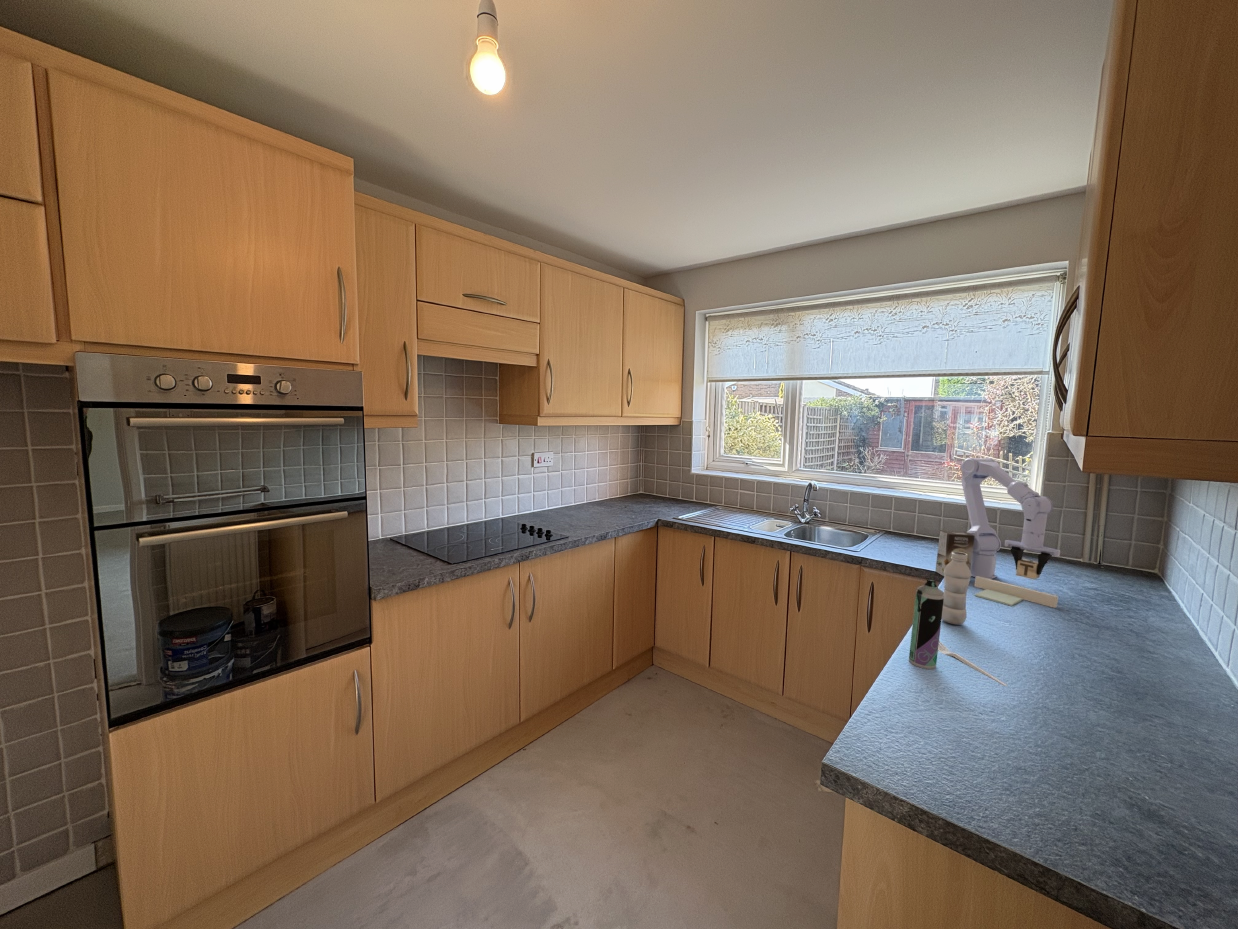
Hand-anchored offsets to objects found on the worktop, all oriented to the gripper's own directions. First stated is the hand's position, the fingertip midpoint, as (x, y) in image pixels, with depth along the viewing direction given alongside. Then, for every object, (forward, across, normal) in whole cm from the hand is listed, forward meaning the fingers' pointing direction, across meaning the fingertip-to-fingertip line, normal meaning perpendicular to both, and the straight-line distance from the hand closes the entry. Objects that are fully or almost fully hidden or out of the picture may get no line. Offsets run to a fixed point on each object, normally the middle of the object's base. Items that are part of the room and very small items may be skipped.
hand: (1028, 571), depth 171 cm
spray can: (+7, +5, -86) cm, 86 cm away
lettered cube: (+2, 0, 0) cm, 2 cm away
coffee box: (+8, -22, -1) cm, 23 cm away
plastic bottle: (+8, -2, -52) cm, 53 cm away
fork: (+8, +10, -76) cm, 78 cm away
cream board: (+7, -1, -8) cm, 11 cm away
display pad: (+7, -3, -15) cm, 17 cm away
